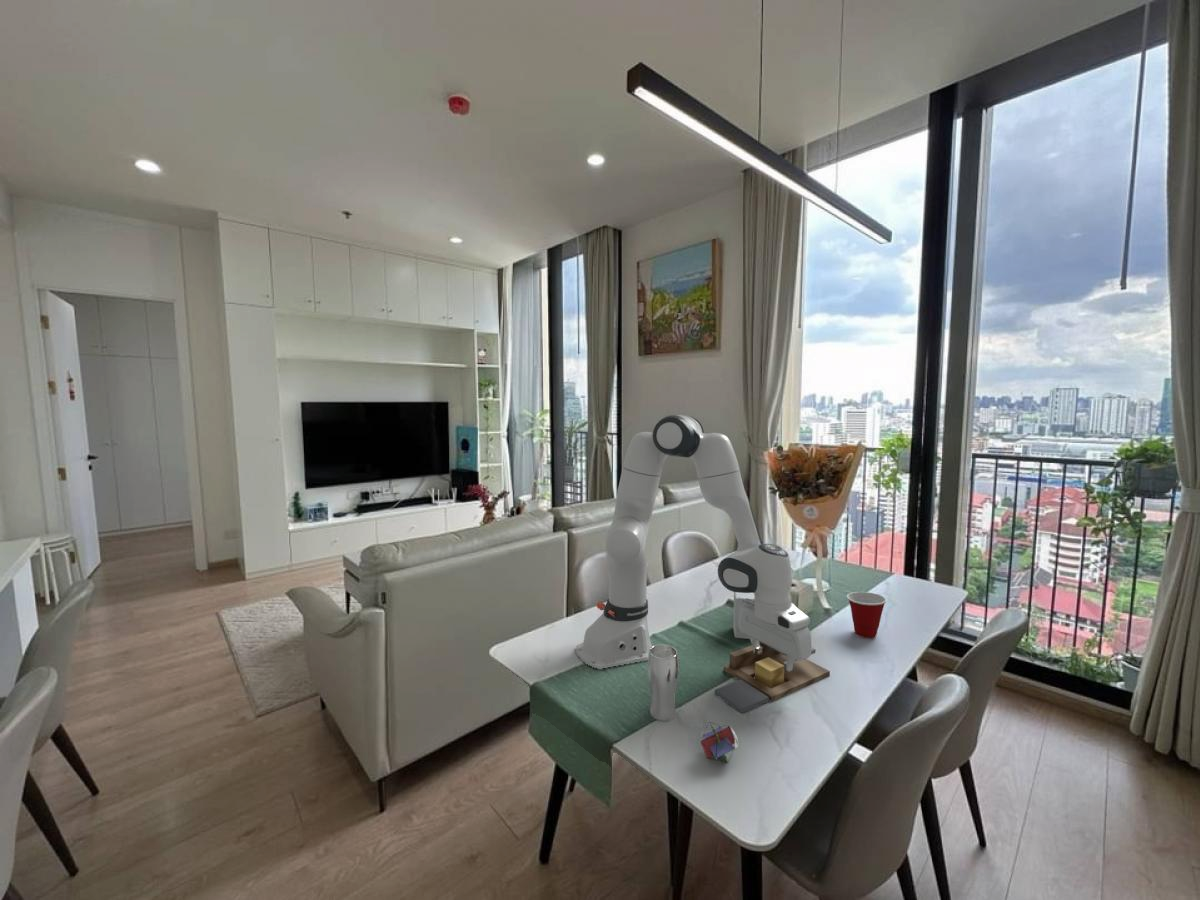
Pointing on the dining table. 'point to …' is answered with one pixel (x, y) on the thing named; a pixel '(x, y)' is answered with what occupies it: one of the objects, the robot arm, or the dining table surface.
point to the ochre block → (769, 672)
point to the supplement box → (737, 607)
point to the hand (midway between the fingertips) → (772, 661)
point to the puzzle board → (794, 679)
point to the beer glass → (663, 681)
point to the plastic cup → (866, 612)
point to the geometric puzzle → (719, 742)
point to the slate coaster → (741, 696)
